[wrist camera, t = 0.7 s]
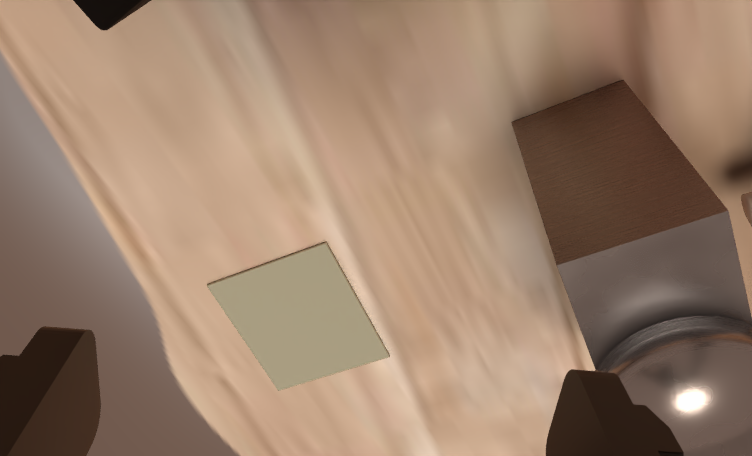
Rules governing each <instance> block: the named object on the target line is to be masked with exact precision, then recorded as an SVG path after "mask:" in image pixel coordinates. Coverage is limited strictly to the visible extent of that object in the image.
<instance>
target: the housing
mask: <svg viewBox="0 0 752 456" xmlns="http://www.w3.org/2000/svg"><path fill="white" fill-rule="evenodd" d="M512 126H513V129H514V132H515V135H516V138H517V141H518V145H519V148H520V151H521V154H522V157H523V160H524V163H525V167H526V170H527V173H528V176H529V179H530V182H531V185H532V189H533V192H534V195H535V198H536V201H537V204H538V208H539V211H540V214H541V217H542V220H543V223H544V226H545V230H546V233H547V236H548V239H549V242H550V245H551V249H552V252H553V255H554V258H555V261H556V264H557V267H558V270H559V273H560V275H561V278H562V281H563V283H564V286H565V289H566V291H567V294H568V297H569V299H570V302H571V305H572V307H573V310H574V313H575V315H576V318H577V321H578V323H579V326H580V329H581V331H582V334H583V337H584V339H585V342H586V345H587V347H588V350H589V353H590V356H591V358H592V361H593V364H594V366H595V369H596V370H595V371H597V372H610V373H615V374H616V375H617V376H618V377H619V378H620V380H621V382H622V384H623V386H624V387H625V389H626V391H627V393H628V395H629V397H630V399H631V401H632V403H633V404H636V405H646V406H647V407H648V408H649V409H650V410H651V411H652V412H653V413H654V414H655V415H657V416H658V417H659V418H660V419H661V420H662V421H663V422H664V423H665V424H666V425H667V426H668V427H669V428H670V429H671V431H672V433H673V435H674V436H675V438H676V440H677V442H678V443H679V445H680V447H681V449H682V450H683V452H684V456H752V317H751V313H750V308H749V304H748V299H747V294H746V290H745V285H744V281H743V276H742V271H741V267H740V262H739V258H738V253H737V248H736V244H735V239H734V235H733V230H732V225H731V221H730V216H729V212H728V210H727V208H726V207H725V206H724V205H723V203H722V202H721V201H720V200H719V198H718V197H717V196H716V195H715V193H714V192H713V191H712V190H711V188H710V187H709V186H708V185H707V183H706V182H705V181H704V180H703V178H702V177H701V176H700V175H699V173H698V172H697V171H696V170H695V169H694V167H693V166H692V165H691V164H690V162H689V161H688V160H687V159H686V157H685V156H684V155H683V154H682V152H681V151H680V150H679V149H678V147H677V146H676V145H675V144H674V142H673V141H672V140H671V139H670V137H669V136H668V135H667V134H666V132H665V131H664V130H663V129H662V127H661V126H660V125H659V124H658V122H657V121H656V120H655V119H654V117H653V116H652V115H651V114H650V112H649V111H648V110H647V109H646V107H645V106H644V105H643V104H642V102H641V101H640V100H639V99H638V98H637V96H636V95H635V94H634V93H633V91H632V90H631V89H630V88H629V86H628V85H627V84H626V83H625V81H624V80H622V81H619V82H616V83H614V84H611V85H609V86H606V87H603V88H601V89H598V90H595V91H593V92H590V93H587V94H585V95H582V96H580V97H577V98H574V99H572V100H569V101H566V102H564V103H561V104H558V105H556V106H553V107H551V108H548V109H545V110H543V111H540V112H537V113H535V114H532V115H529V116H527V117H524V118H522V119H519V120H516V121H514V122H512Z"/></svg>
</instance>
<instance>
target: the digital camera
mask: <svg viewBox="0 0 752 456" xmlns="http://www.w3.org/2000/svg"><path fill="white" fill-rule="evenodd" d="M149 1H151V0H74V2H75V3H76V4H77V5H78V6H79V7H80V8H81V9H82V11H83V12H84V13H85V14H86V15H87V16H88V17H89V18H90V20H91V21H92V22H93V23H94V24H95V25H96V26H97V27H98V28H99V29H101V30H108V29H109V28H111V27H112V26H114V25H115V24H117V23H118V22H120V21H121V20H123V19H124V18H126V17H127V16H129V15H130V14H132V13H133V12H135V11H136V10H138V9H139V8H141V7H142V6H143V5H145V4H146V3H148V2H149Z"/></svg>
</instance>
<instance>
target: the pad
mask: <svg viewBox="0 0 752 456" xmlns="http://www.w3.org/2000/svg"><path fill="white" fill-rule="evenodd" d="M207 287H208V288H209V290H210V291H211V293H212V294H213V296H214V297H215V299H216V300H217V302H218V303H219V305H220V306H221V307H222V309H223V310H224V312H225V313H226V315H227V316H228V318H229V319H230V321H231V322H232V324H233V325H234V327H235V328H236V329H237V331H238V332H239V334H240V335H241V337H242V338H243V340H244V341H245V343H246V344H247V346H248V347H249V348H250V350H251V351H252V353H253V354H254V356H255V357H256V359H257V360H258V362H259V363H260V365H261V366H262V367H263V369H264V370H265V372H266V373H267V375H268V376H269V378H270V379H271V381H272V382H273V384H274V385H275V387H276V388H277V389H278V391H280V390H283V389H286V388H290V387H293V386H296V385H299V384H303V383H306V382H309V381H313V380H316V379H319V378H322V377H326V376H329V375H332V374H335V373H339V372H342V371H345V370H349V369H352V368H355V367H358V366H362V365H365V364H368V363H372V362H375V361H378V360H381V359H385V358H388V357H390V355H389V353H388V351H387V350H386V348H385V346H384V344H383V342H382V341H381V339H380V337H379V335H378V333H377V332H376V330H375V328H374V326H373V324H372V323H371V321H370V319H369V317H368V316H367V314H366V312H365V310H364V308H363V307H362V305H361V303H360V301H359V299H358V298H357V296H356V294H355V292H354V290H353V289H352V287H351V285H350V283H349V282H348V280H347V278H346V276H345V274H344V273H343V271H342V269H341V267H340V265H339V264H338V262H337V260H336V258H335V256H334V255H333V253H332V251H331V249H330V247H329V246H328V244H327V242H324V243H321V244H319V245H316V246H313V247H310V248H307V249H305V250H302V251H299V252H296V253H293V254H291V255H288V256H285V257H282V258H280V259H277V260H274V261H271V262H268V263H266V264H263V265H260V266H257V267H255V268H252V269H249V270H246V271H243V272H241V273H238V274H235V275H232V276H230V277H227V278H224V279H221V280H218V281H216V282H213V283H210V284H208V285H207Z"/></svg>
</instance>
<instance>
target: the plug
mask: <svg viewBox="0 0 752 456" xmlns="http://www.w3.org/2000/svg"><path fill="white" fill-rule="evenodd" d="M741 201H742V206H743V209H744V212H745V215H746V217H747V219H748V221H749V223H750V224H751V226H752V192H749V193H746V194H743V195H742V196H741Z"/></svg>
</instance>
